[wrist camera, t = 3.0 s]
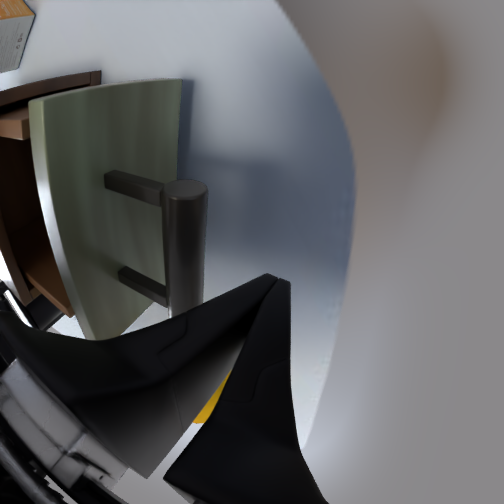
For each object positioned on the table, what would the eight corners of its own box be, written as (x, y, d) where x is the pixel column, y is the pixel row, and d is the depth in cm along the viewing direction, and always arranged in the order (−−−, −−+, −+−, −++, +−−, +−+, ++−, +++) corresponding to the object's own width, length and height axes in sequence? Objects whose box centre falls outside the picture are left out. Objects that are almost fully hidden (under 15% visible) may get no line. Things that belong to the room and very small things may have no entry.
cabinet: (101, 70, 13) (-30, 102, 6) (111, 242, 20) (25, 307, 14) (19, 86, 17) (-55, 113, 10) (31, 199, 24) (-30, 236, 18)
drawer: (273, 88, 10) (140, 96, 4) (240, 306, 16) (171, 401, 11) (45, 87, 14) (-34, 112, 9) (59, 218, 21) (-1, 257, 16)
